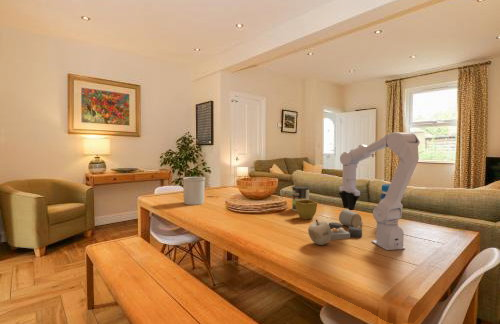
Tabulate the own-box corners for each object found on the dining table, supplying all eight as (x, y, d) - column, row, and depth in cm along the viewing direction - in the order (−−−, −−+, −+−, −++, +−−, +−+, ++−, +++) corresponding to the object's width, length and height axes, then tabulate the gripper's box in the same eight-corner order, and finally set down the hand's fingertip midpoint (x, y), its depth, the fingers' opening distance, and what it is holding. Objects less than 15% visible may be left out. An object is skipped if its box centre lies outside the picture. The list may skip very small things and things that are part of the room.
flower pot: (317, 219, 144) (317, 202, 144) (303, 220, 141) (303, 203, 141) (308, 215, 153) (308, 199, 152) (294, 216, 149) (294, 200, 149)
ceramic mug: (351, 229, 126) (352, 213, 126) (338, 225, 133) (338, 209, 133) (367, 226, 131) (367, 211, 131) (353, 222, 138) (353, 207, 138)
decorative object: (335, 244, 107) (335, 219, 106) (323, 250, 101) (323, 223, 100) (316, 239, 113) (316, 215, 113) (303, 244, 107) (303, 219, 107)
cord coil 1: (343, 232, 123) (343, 225, 123) (331, 232, 122) (332, 226, 122) (337, 228, 128) (337, 222, 128) (326, 229, 127) (326, 222, 127)
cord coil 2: (364, 237, 115) (364, 230, 115) (352, 238, 114) (352, 231, 114) (357, 233, 121) (357, 226, 121) (345, 234, 120) (345, 227, 120)
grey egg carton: (350, 239, 114) (350, 230, 114) (328, 240, 112) (328, 232, 112) (340, 234, 121) (341, 225, 121) (320, 235, 119) (320, 227, 119)
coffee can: (298, 212, 160) (298, 188, 159) (288, 208, 169) (289, 186, 168) (312, 210, 164) (313, 187, 163) (302, 207, 173) (302, 185, 172)
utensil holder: (198, 200, 197) (198, 176, 196) (209, 203, 186) (209, 177, 185) (179, 202, 188) (179, 177, 187) (189, 206, 176) (189, 179, 176)
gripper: (333, 177, 128) (332, 205, 129) (349, 181, 114) (348, 213, 115) (347, 177, 129) (346, 205, 130) (364, 180, 115) (364, 212, 116)
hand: (348, 208), depth 123 cm, fingers open, 4 cm apart
